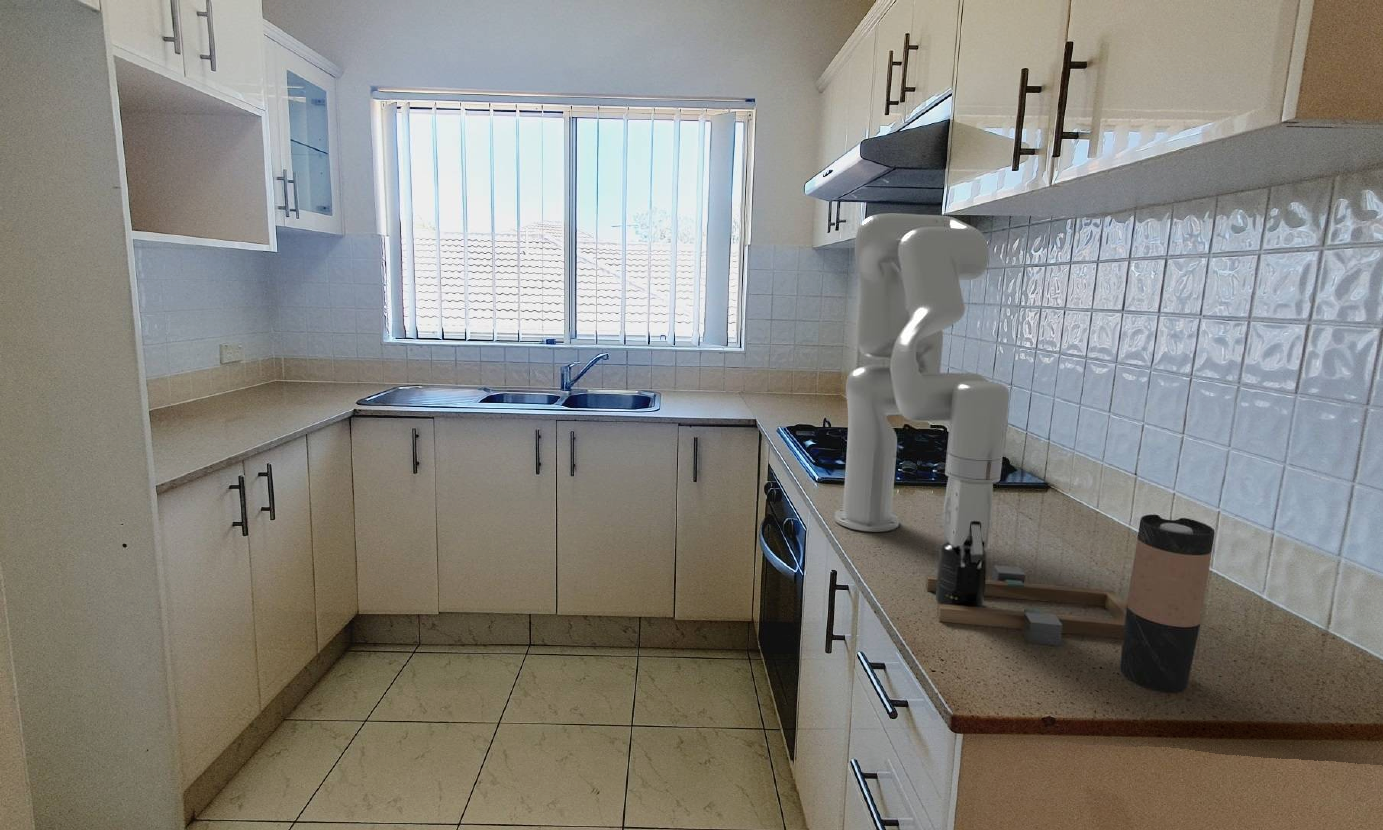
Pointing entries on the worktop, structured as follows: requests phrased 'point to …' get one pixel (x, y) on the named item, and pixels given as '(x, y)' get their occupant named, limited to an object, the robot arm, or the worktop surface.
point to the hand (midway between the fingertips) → (960, 580)
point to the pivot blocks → (1034, 624)
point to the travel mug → (1165, 602)
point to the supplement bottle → (947, 576)
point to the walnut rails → (1043, 594)
